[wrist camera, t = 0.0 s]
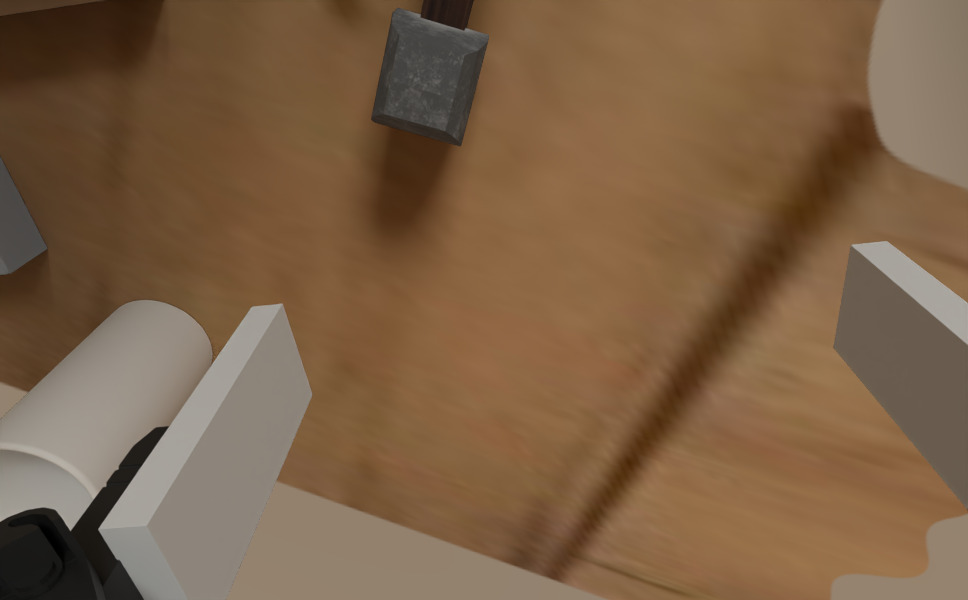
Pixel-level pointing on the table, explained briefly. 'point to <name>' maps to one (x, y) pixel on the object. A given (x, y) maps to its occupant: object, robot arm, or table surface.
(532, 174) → the table surface
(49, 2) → the rack
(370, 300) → the table surface
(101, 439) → the cup
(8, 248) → the socket block
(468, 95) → the hammer
